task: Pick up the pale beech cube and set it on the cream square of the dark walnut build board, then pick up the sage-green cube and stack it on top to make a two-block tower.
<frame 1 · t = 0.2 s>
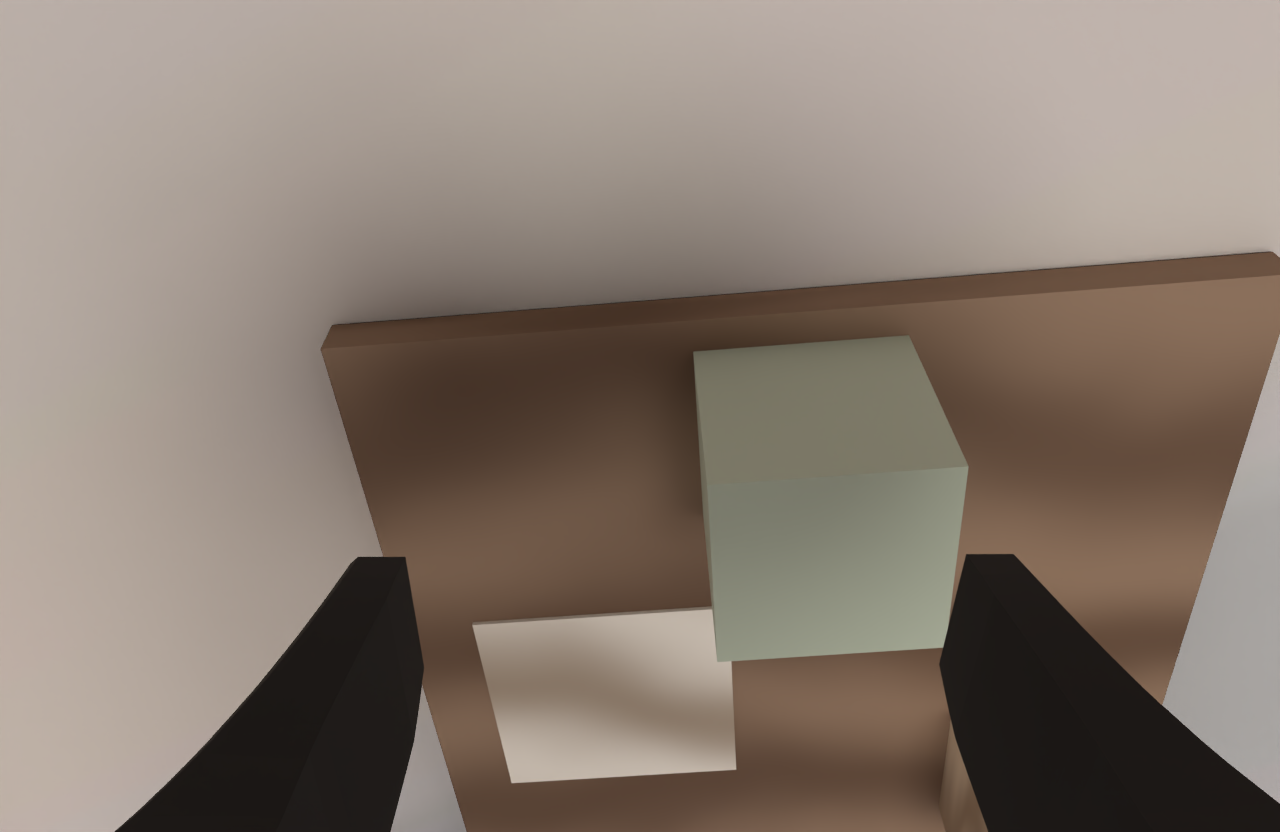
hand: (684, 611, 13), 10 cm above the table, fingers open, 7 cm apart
build board: (792, 607, 27), on the table
sage block: (799, 430, 23), point 1 cm above the table, touching build board
beech block: (1024, 754, 29), point 1 cm above the table, touching build board
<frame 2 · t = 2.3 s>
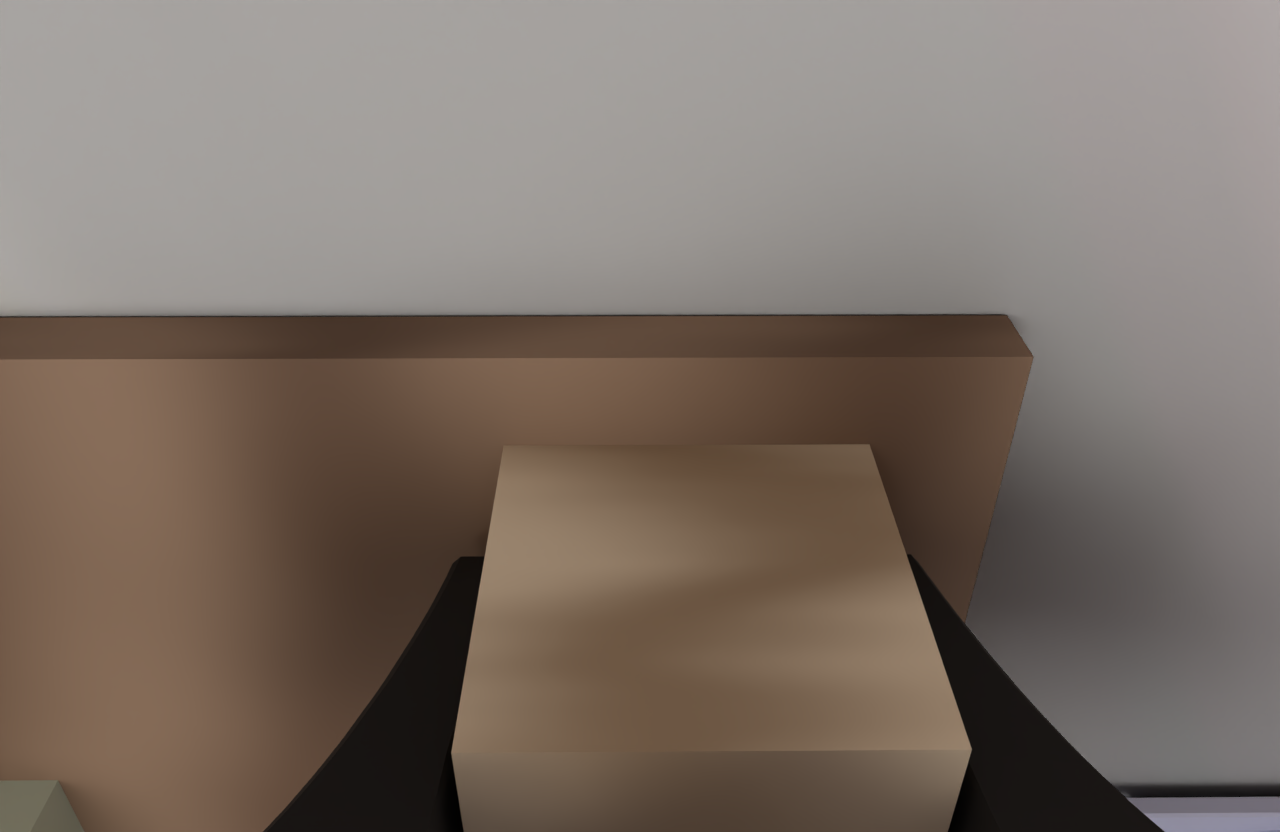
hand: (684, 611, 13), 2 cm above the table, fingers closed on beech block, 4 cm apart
build board: (362, 808, 18), on the table
beech block: (682, 579, 14), point 1 cm above the table, touching build board, gripper
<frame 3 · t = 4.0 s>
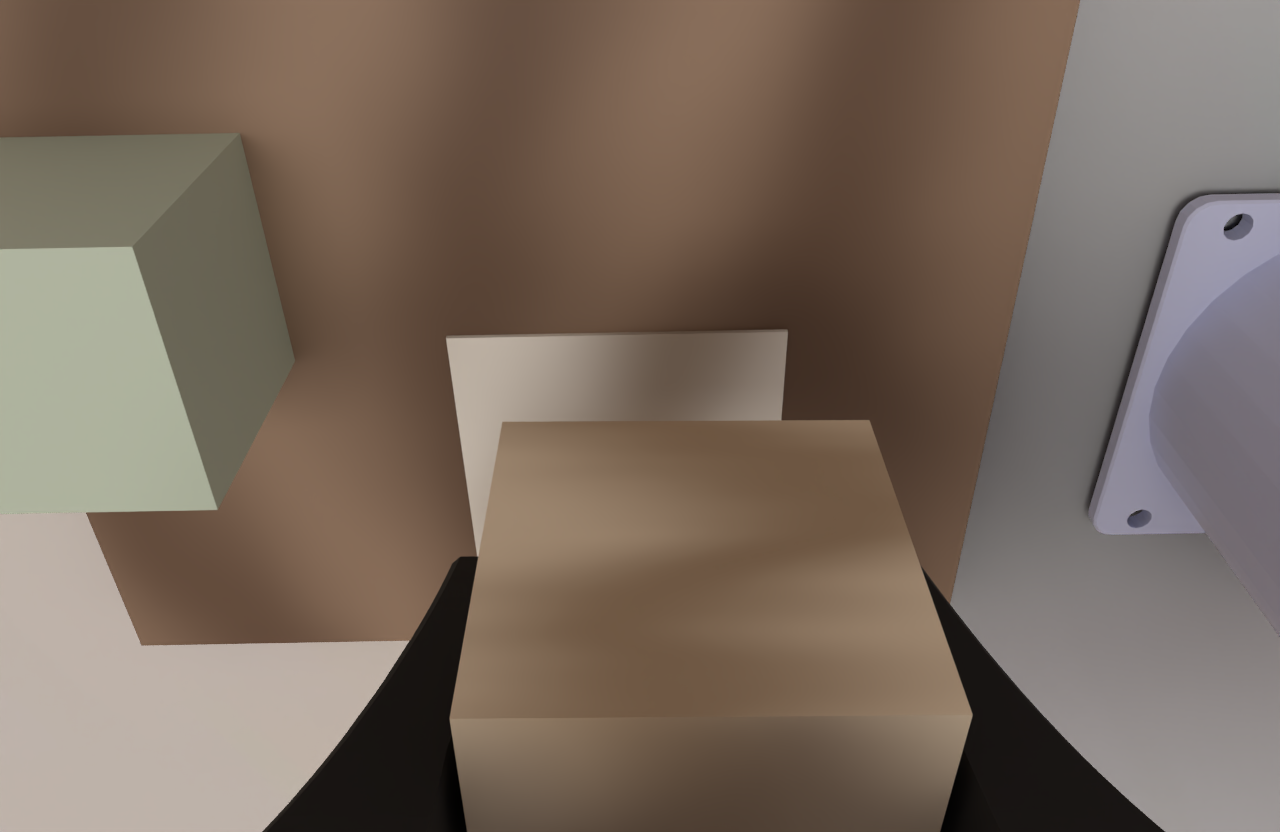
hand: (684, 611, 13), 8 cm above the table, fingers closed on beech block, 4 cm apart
build board: (509, 227, 19), on the table
sage block: (145, 257, 18), point 1 cm above the table, touching build board
beech block: (681, 558, 14), point 8 cm above the table, touching gripper
when the fingers open (3 cm above the table, at t = 5.8 s): beech block stays where it is, resting on build board.
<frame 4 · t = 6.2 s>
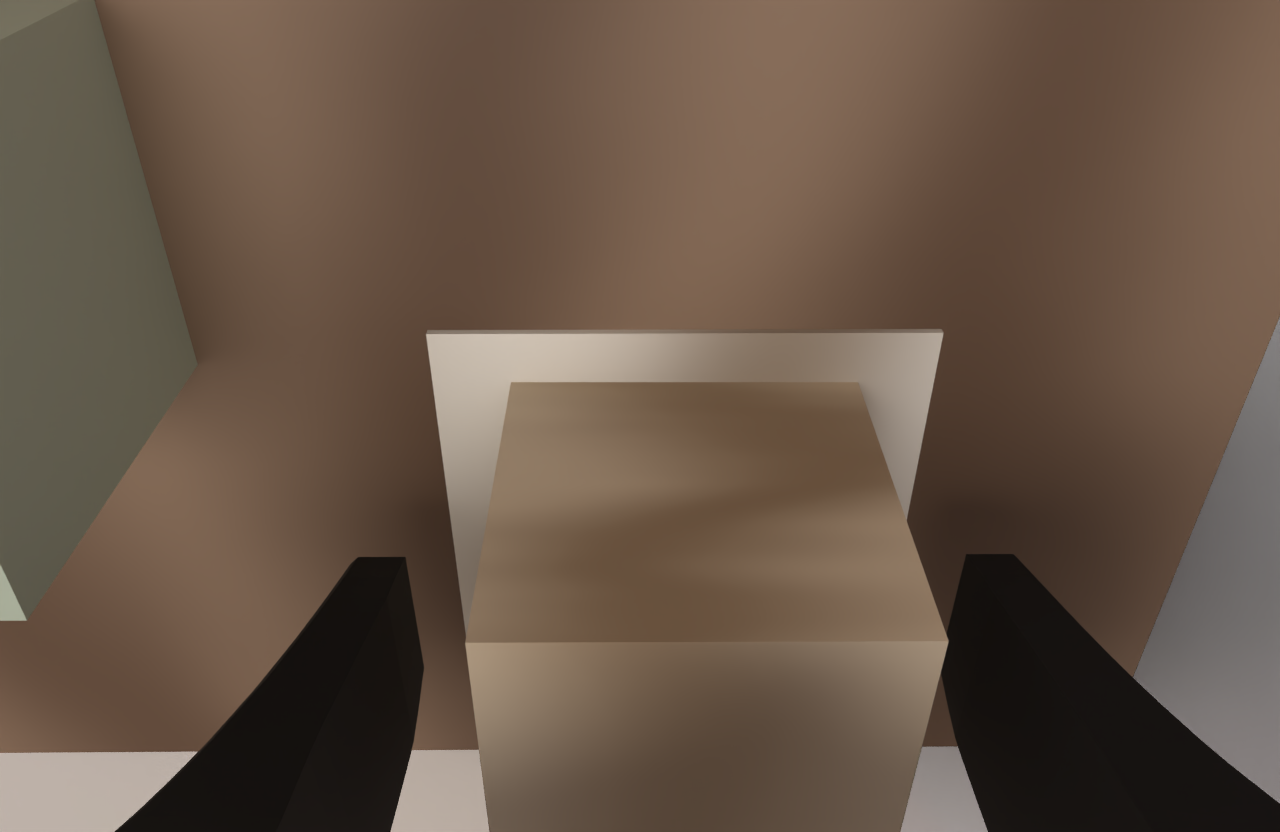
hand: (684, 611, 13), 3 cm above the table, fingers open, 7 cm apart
build board: (524, 167, 13), on the table
beech block: (679, 515, 14), point 1 cm above the table, touching build board
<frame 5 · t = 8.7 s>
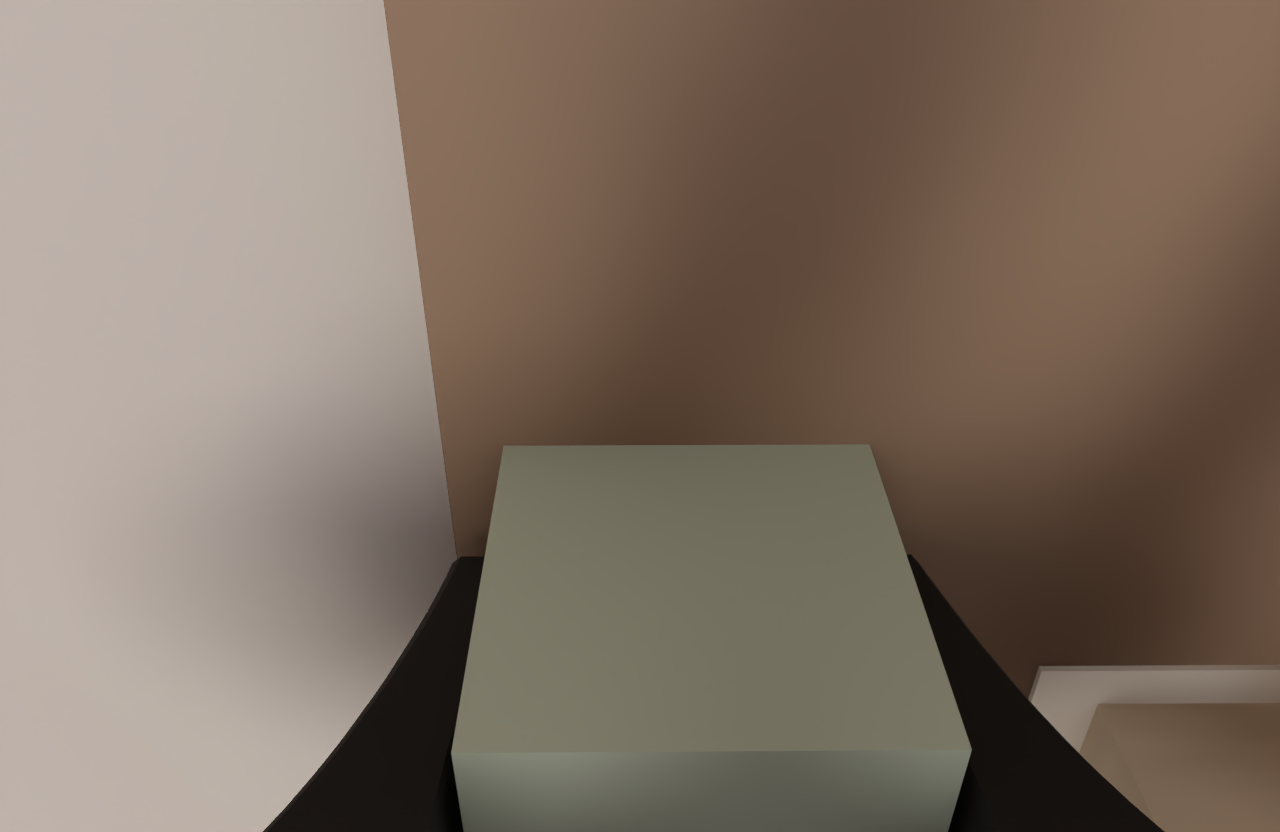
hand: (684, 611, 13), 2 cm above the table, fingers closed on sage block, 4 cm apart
build board: (1129, 528, 15), on the table
sage block: (681, 579, 14), point 1 cm above the table, touching build board, gripper
beech block: (1200, 795, 16), point 1 cm above the table, touching build board
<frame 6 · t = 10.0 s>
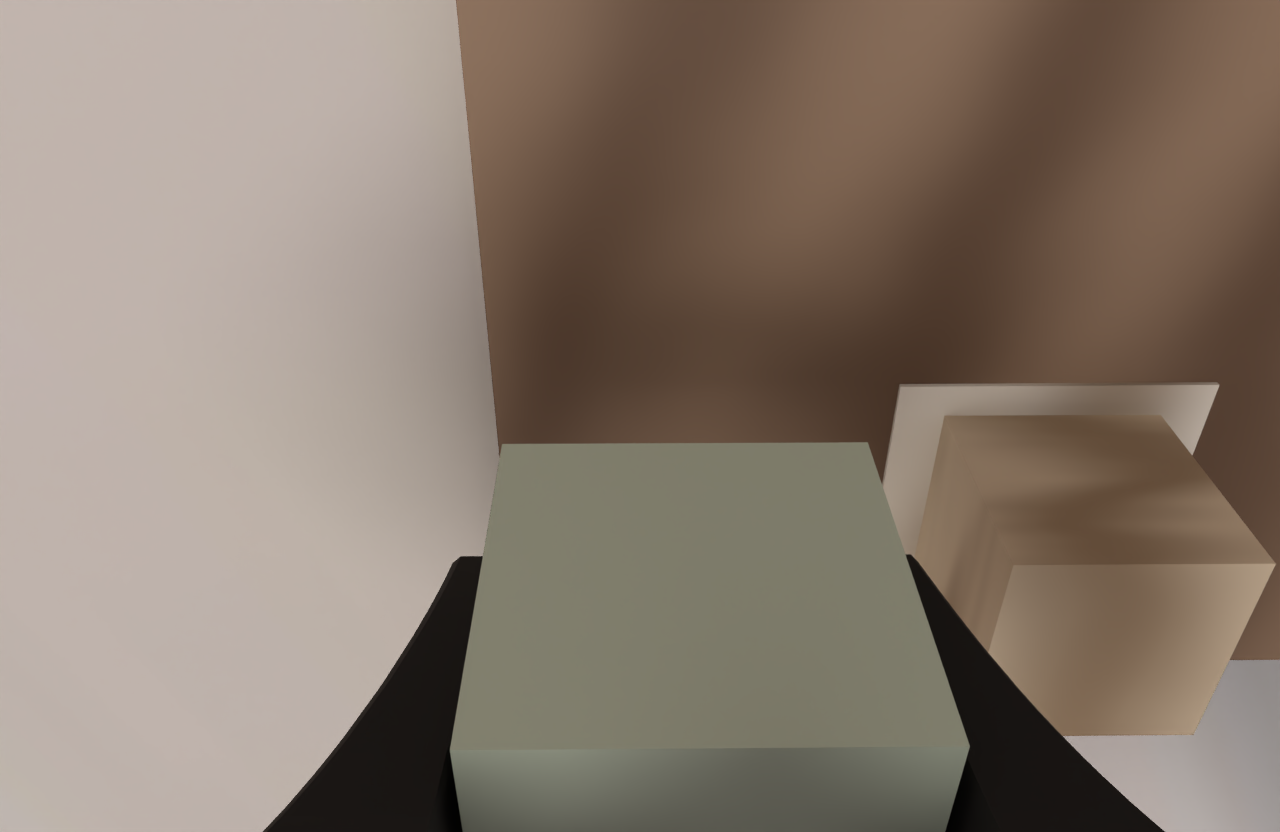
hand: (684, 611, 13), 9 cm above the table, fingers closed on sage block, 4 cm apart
build board: (962, 283, 20), on the table
sage block: (680, 577, 14), point 8 cm above the table, touching gripper
beech block: (1028, 500, 22), point 1 cm above the table, touching build board
when the fingers open (7 cm above the table, at t = 11.4 s): sage block stays where it is, resting on beech block.
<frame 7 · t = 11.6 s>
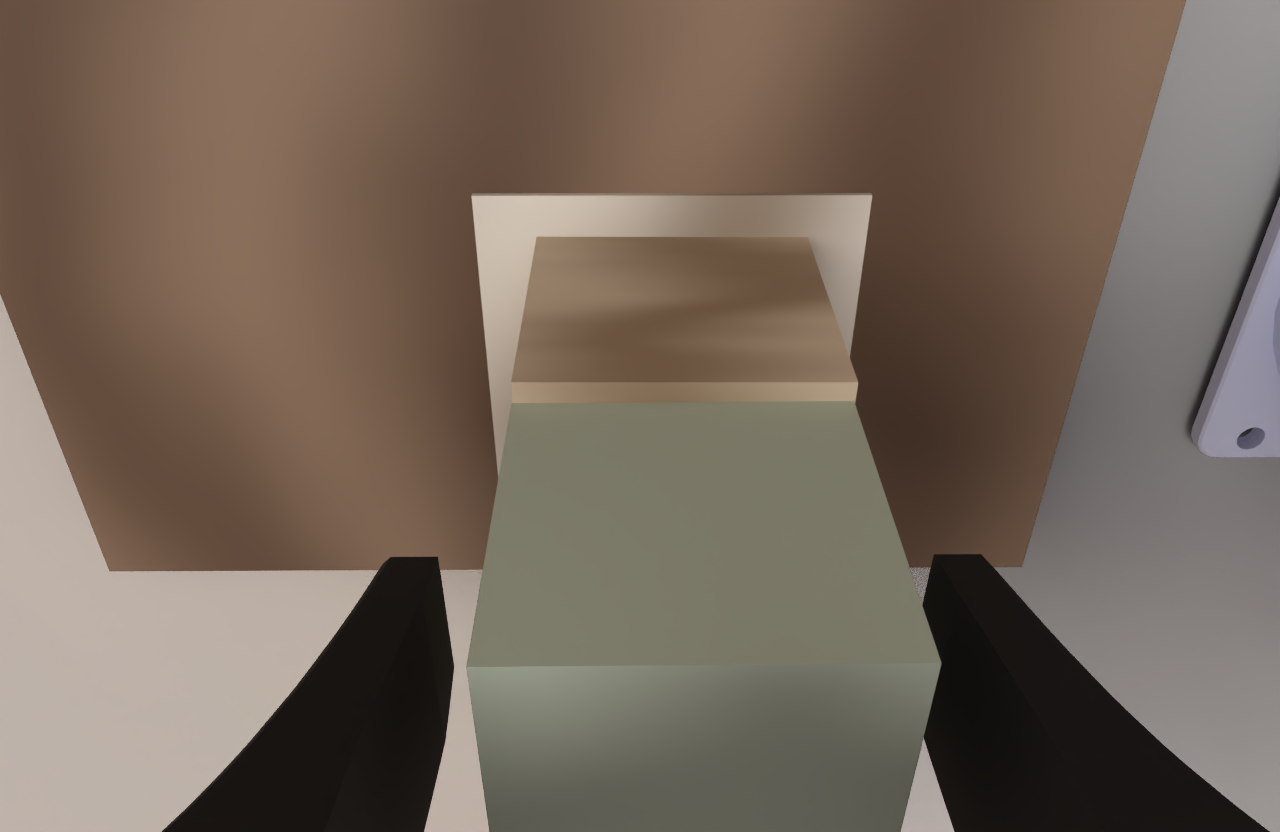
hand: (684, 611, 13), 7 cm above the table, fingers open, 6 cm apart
build board: (547, 66, 16), on the table
sage block: (679, 532, 15), point 6 cm above the table, touching beech block
beech block: (669, 353, 18), point 1 cm above the table, touching build board, sage block
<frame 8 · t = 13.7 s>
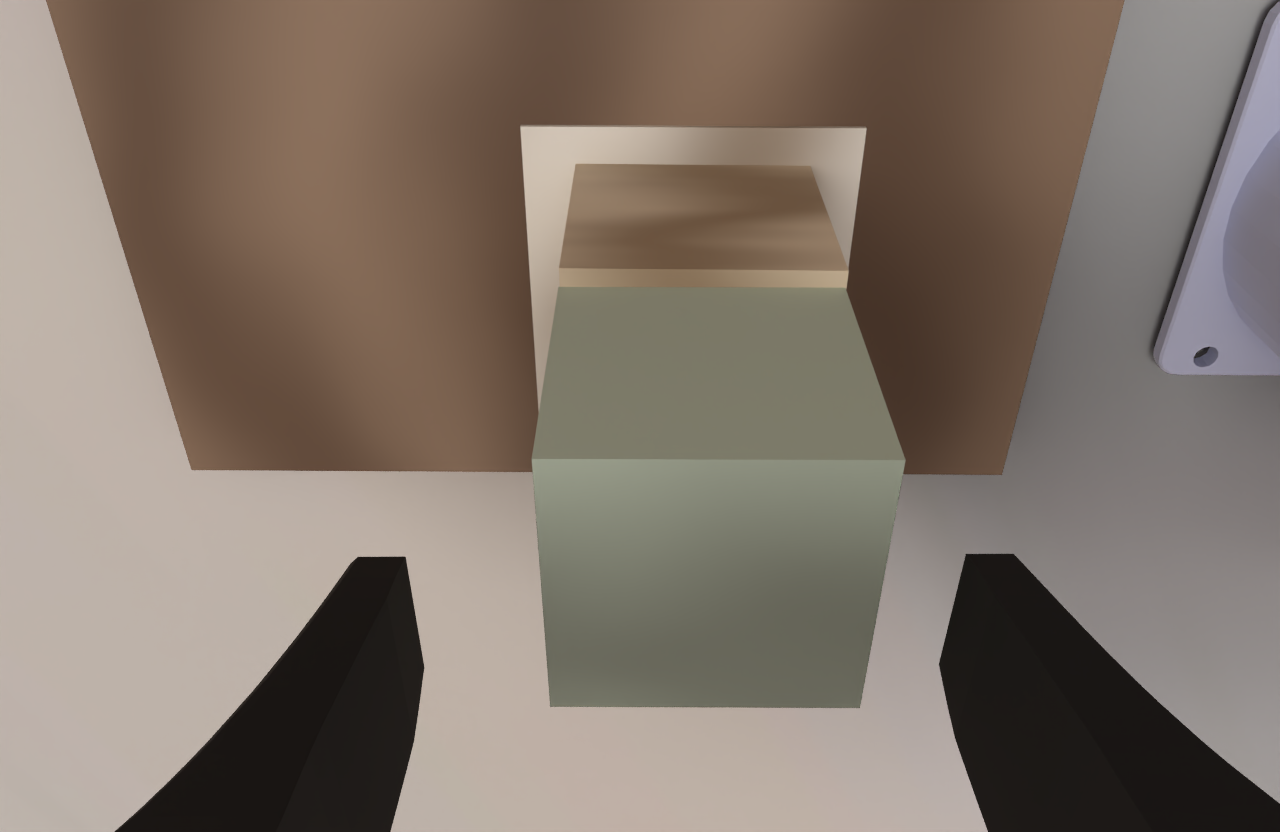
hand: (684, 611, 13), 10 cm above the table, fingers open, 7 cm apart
build board: (587, 15, 19), on the table
sage block: (697, 406, 17), point 6 cm above the table, touching beech block
beech block: (688, 270, 21), point 1 cm above the table, touching build board, sage block
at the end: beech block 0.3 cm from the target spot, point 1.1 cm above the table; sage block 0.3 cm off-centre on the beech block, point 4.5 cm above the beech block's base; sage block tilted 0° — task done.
